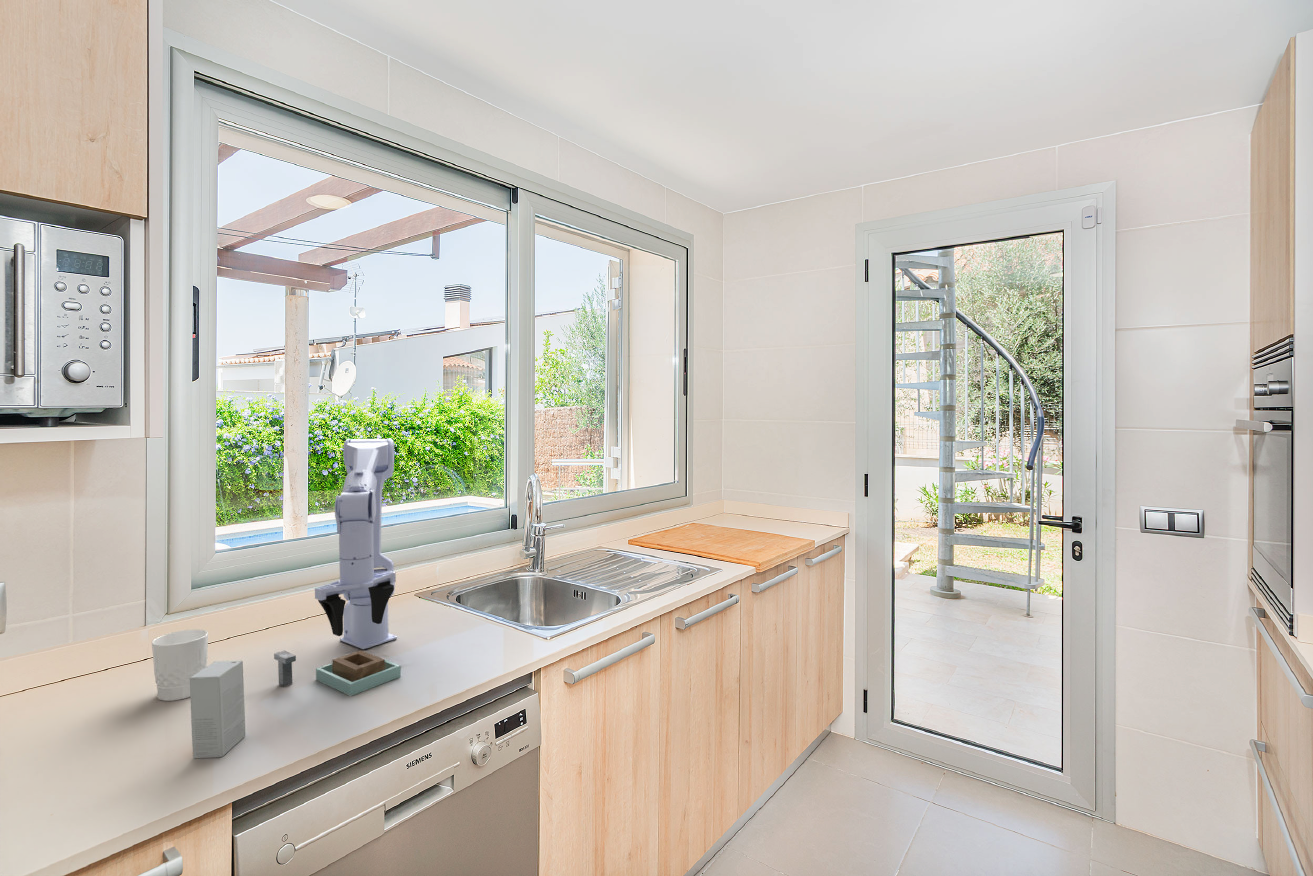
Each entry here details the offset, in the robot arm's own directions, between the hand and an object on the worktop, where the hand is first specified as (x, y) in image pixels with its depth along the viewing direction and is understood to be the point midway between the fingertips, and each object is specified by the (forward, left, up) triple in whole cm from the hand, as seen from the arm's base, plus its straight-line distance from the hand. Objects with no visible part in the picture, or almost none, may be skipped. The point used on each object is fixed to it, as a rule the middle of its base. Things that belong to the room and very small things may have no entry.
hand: (357, 628), depth 115 cm
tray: (0, 0, -9) cm, 9 cm away
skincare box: (+6, -25, -10) cm, 28 cm away
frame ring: (0, 0, -9) cm, 9 cm away
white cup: (-20, -21, -10) cm, 31 cm away
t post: (-8, -9, -9) cm, 16 cm away
